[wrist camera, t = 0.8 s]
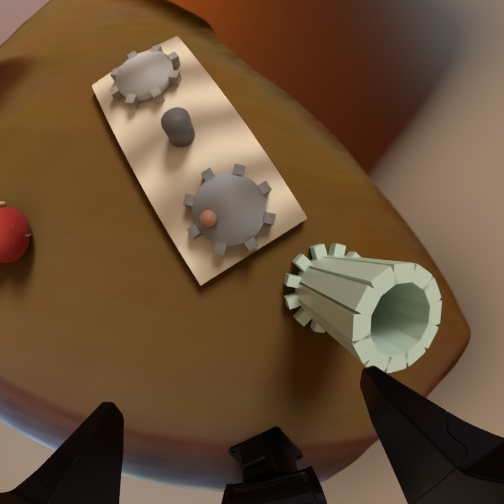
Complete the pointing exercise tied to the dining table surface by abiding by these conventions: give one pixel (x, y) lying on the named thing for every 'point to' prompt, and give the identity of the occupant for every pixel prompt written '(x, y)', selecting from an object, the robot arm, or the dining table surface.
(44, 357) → the dining table surface
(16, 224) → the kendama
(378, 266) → the gear sleeve
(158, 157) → the gear board
